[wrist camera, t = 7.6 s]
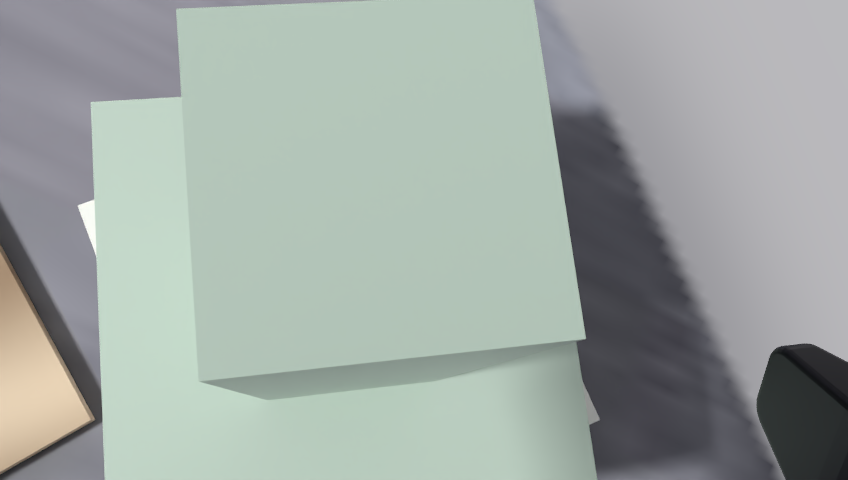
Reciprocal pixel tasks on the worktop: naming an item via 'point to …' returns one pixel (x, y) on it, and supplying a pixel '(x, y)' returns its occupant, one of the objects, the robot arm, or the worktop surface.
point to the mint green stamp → (340, 252)
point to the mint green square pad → (31, 379)
